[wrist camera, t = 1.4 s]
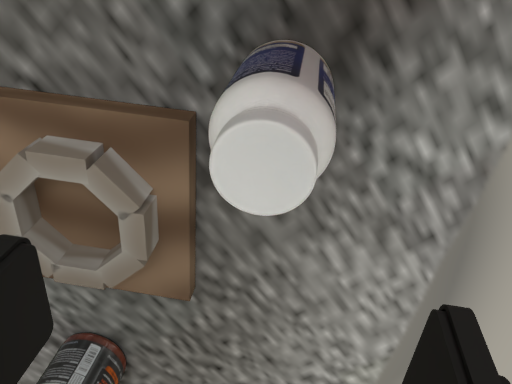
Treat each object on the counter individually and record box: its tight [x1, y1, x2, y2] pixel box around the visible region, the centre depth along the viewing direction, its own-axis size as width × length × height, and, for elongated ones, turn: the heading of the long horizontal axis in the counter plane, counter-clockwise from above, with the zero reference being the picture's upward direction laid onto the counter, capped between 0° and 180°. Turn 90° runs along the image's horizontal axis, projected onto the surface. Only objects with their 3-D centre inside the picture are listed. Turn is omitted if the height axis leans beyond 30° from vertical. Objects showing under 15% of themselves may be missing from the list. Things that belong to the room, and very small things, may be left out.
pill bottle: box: [208, 40, 336, 216], centre depth 20 cm, size 5×5×10 cm
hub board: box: [0, 87, 196, 301], centre depth 28 cm, size 14×14×4 cm
